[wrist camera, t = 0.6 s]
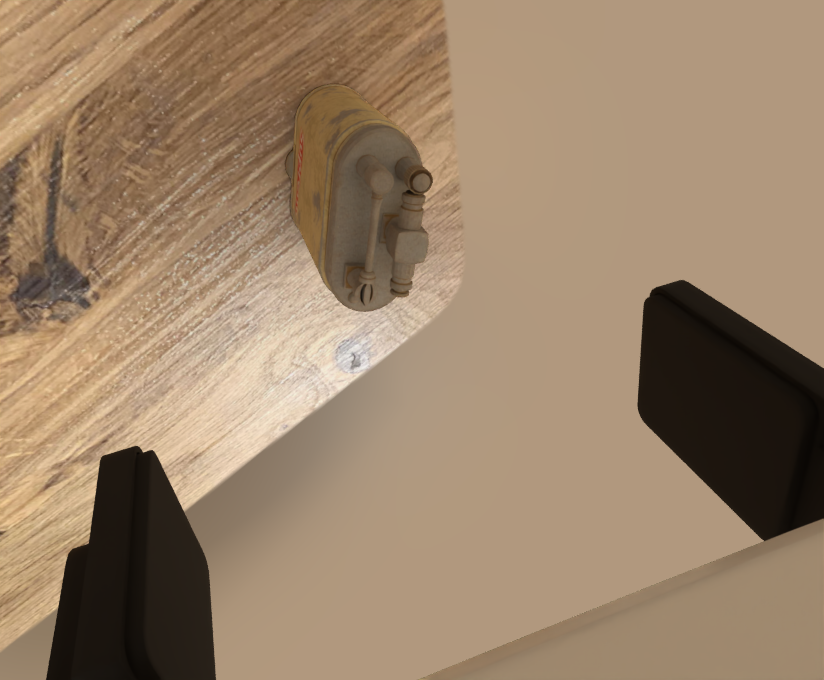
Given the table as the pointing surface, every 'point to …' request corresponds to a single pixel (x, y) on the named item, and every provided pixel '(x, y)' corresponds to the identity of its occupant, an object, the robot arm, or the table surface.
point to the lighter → (357, 197)
